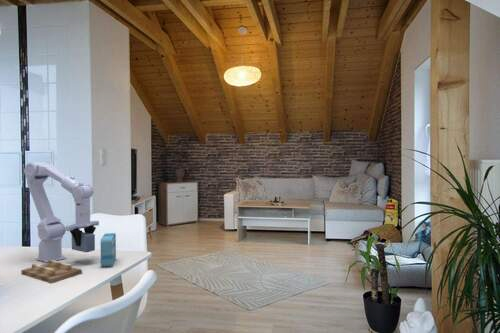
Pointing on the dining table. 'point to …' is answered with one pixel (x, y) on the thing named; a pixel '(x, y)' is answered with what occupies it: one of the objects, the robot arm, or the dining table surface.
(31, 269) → the shelf board
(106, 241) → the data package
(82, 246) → the slate blue book
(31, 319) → the dining table surface
